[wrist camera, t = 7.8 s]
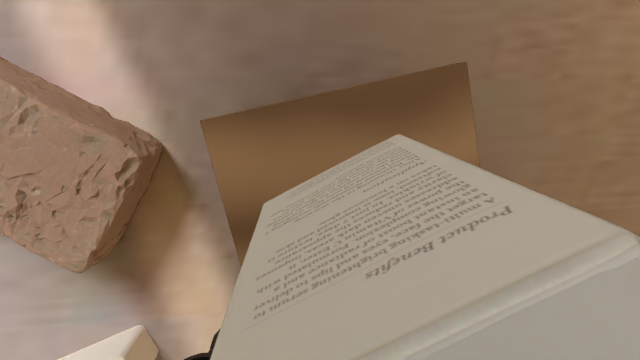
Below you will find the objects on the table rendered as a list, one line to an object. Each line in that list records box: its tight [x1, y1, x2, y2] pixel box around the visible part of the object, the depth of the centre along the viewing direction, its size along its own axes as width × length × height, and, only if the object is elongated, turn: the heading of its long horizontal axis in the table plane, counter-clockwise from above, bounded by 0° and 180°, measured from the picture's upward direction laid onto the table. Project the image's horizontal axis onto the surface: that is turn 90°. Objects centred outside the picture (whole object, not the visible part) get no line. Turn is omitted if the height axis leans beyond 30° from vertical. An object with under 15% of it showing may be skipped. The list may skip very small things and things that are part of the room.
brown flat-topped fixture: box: [200, 62, 480, 267], centre depth 23 cm, size 12×12×8 cm
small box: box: [210, 134, 640, 360], centre depth 10 cm, size 8×6×10 cm
